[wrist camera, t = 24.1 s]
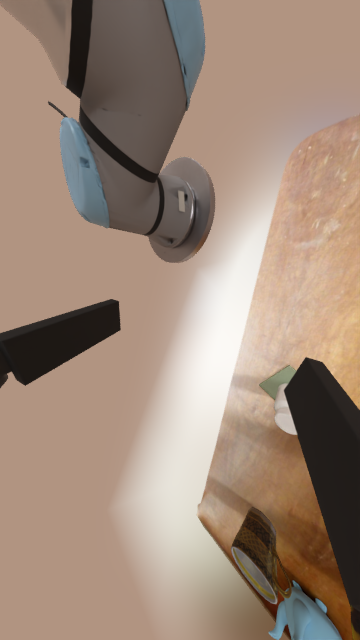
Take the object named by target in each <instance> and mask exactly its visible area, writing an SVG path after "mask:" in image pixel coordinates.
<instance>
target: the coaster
mask: <svg viewBox="0 0 360 640" xmlns="http://www.w3.org/2000/svg"><path fill="white" fill-rule="evenodd" d="M295 373H296V370H294V369H293V368H292V367H291V366H290V365H289V366H287V367H286V368H284V369H283V370H281V371H280V372H278V373H277V374H275V375H274V376H272V377H270V378H269V379H267V380H266V381H264V382H263V383H261V384H260V385H259V386H260V387H262V388H263V389H264V390H265V391H266V392H267V393H268V394H269V395H270V396H271V397H272V398H273V399H274V400H275V399H276V395H277V391H278V387H279V386H280V385H281V384H284V383H289V381H290V380H291V378H292V377H293V376H294V374H295Z"/></svg>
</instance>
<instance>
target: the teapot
mask: <svg viewBox="0 0 360 640" xmlns="http://www.w3.org/2000/svg"><path fill="white" fill-rule="evenodd" d="M293 585H294V587H292V593H291V596H290V597H289V598H285V597H284V599H285V601H282V602H281V603H280V604H279V607H278V612H277V621H276V626H275V628H274V629H273V630H272V631H270V632H269V634H270V635H271V636H272V637H273V638H275V639H277V640H279V639H280V637H281V635H282V632H283V629H284V627H285V625H286V624H288V626H289V630H290V635H291V639H292V640H342V638H341V636H340V634H339V632H338V630H337V629H336V627H335V626H334V625H333V623H332V622H331V621H330V619H329V618H328V617H327V616H326V612H327V608H326V606H325V605H324V604H323V603H322V602H321V601H320V600H319V599H317V598H315V603H314V602H313V601H312V600H311V599H310V598H309V597H308V596H307V595H306V594H304V593H303V592H302V589H301V587H300V586H299V585H298V584H297V583H296V582H295V581H293ZM288 590H289V588H288V589H286V591H285V592H287V591H288Z"/></svg>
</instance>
